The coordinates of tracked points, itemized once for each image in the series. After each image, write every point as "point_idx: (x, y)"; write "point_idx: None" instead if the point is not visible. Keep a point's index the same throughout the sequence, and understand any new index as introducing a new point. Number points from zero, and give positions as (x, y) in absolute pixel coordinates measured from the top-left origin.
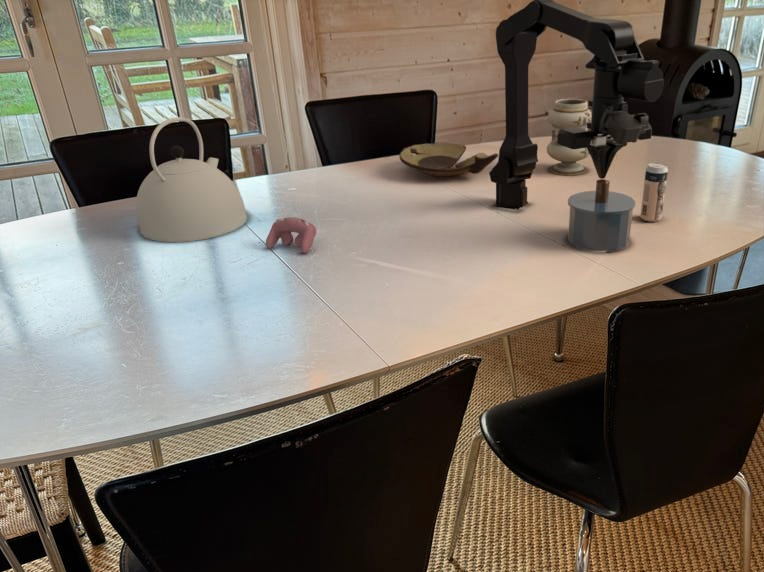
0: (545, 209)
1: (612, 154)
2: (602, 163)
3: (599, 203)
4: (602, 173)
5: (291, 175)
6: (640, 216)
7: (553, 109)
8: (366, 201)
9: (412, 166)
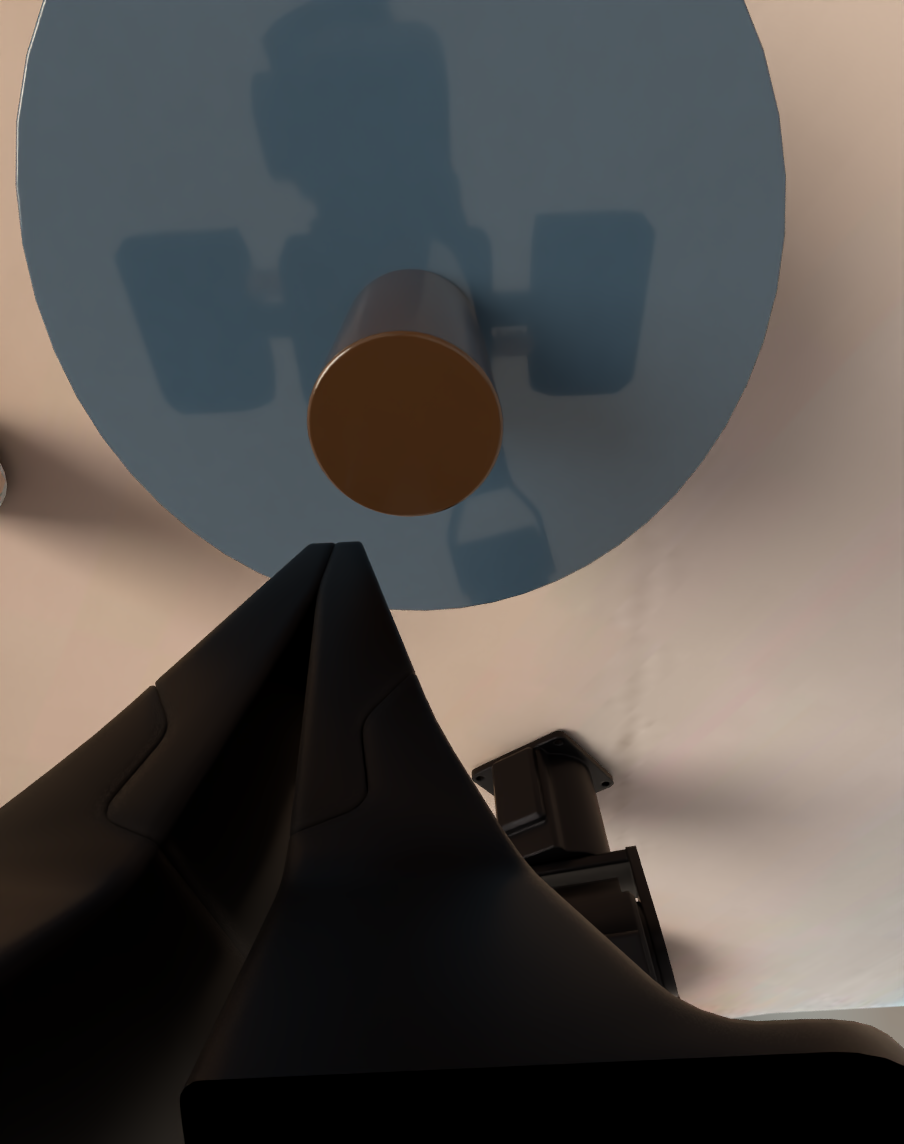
0: (436, 717)
1: (83, 822)
2: (373, 676)
3: (481, 272)
4: (356, 572)
5: (862, 1002)
6: (3, 485)
7: None
8: (879, 889)
9: (678, 995)
